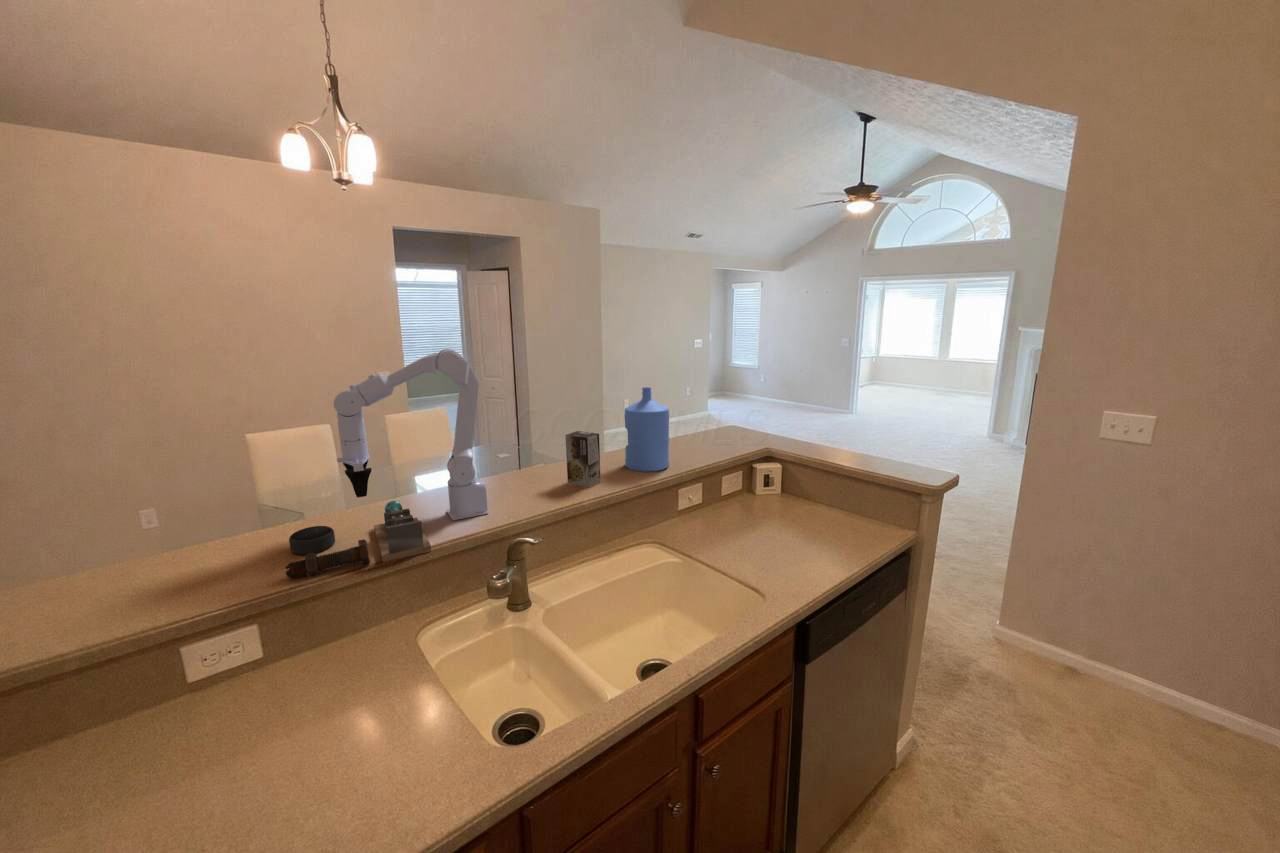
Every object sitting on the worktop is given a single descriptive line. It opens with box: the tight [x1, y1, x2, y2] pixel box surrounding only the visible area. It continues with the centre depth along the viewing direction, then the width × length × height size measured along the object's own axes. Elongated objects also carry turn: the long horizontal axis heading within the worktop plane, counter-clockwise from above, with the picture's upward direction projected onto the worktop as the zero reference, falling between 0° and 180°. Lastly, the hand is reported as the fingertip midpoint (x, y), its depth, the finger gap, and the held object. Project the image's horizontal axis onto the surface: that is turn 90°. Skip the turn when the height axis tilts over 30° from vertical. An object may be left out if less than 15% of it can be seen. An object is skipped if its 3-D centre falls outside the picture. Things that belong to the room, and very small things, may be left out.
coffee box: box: [564, 430, 601, 488], centre depth 165 cm, size 9×6×16 cm
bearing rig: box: [373, 508, 432, 563], centre depth 124 cm, size 20×10×8 cm, turn 31°
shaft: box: [384, 500, 404, 525], centre depth 128 cm, size 15×4×4 cm, turn 31°
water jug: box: [624, 386, 670, 473], centre depth 182 cm, size 16×16×28 cm
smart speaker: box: [288, 525, 336, 556], centre depth 121 cm, size 9×9×4 cm
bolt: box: [284, 538, 371, 579], centre depth 110 cm, size 6×5×15 cm
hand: (360, 492), depth 130 cm, fingers open, 7 cm apart
